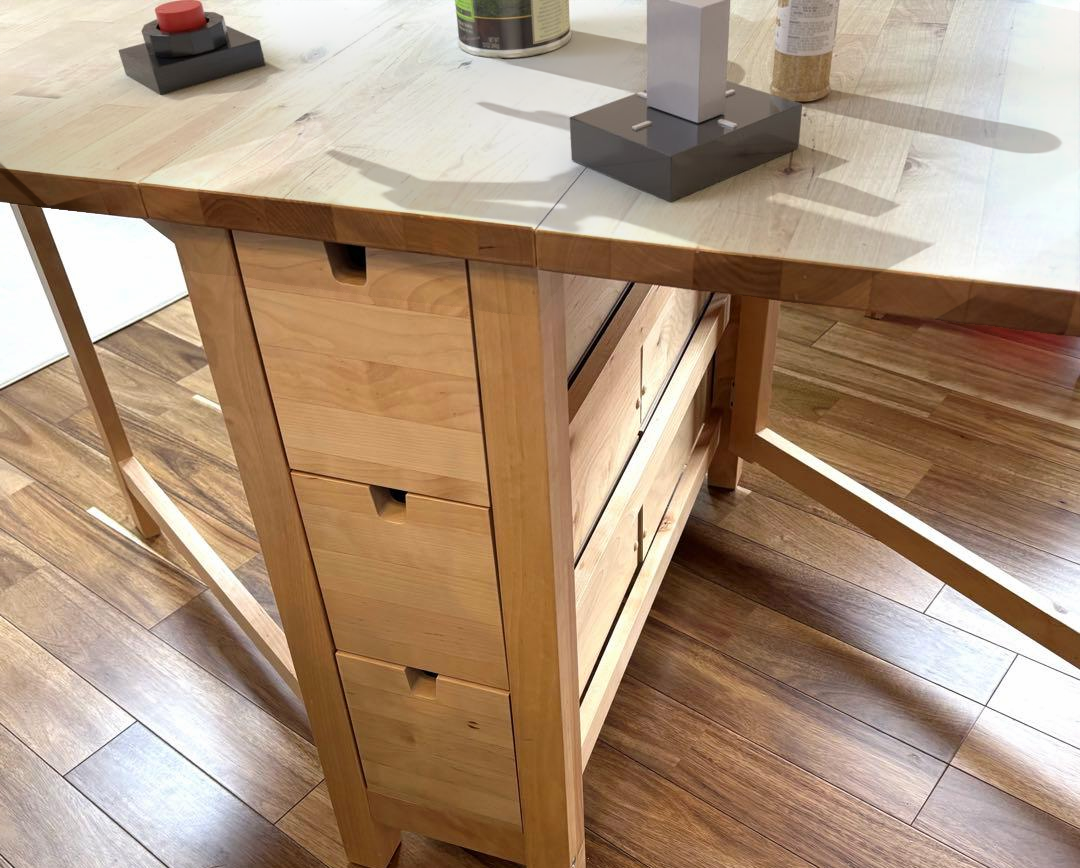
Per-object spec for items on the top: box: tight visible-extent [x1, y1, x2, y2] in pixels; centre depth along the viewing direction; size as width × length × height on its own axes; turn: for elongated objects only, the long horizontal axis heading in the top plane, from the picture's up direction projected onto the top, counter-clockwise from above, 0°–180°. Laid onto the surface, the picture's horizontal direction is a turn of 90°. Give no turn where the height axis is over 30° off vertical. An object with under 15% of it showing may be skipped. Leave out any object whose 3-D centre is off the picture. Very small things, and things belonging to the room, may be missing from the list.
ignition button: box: [154, 0, 207, 32], centre depth 91 cm, size 4×4×2 cm
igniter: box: [117, 11, 266, 96], centre depth 93 cm, size 10×8×4 cm
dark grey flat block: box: [569, 80, 803, 203], centre depth 71 cm, size 12×10×3 cm
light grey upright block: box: [646, 0, 731, 123], centre depth 68 cm, size 5×2×7 cm, turn 38°
